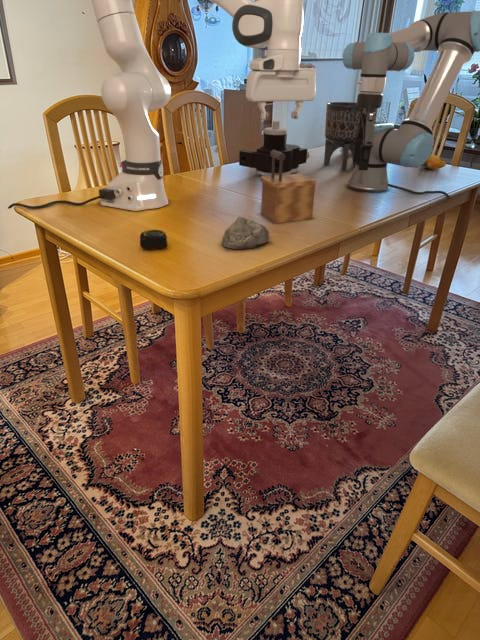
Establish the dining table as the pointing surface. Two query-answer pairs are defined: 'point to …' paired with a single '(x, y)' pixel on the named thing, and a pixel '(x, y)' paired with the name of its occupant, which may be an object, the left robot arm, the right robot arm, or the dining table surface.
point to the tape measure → (153, 239)
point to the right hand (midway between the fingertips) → (359, 165)
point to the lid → (281, 179)
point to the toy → (434, 162)
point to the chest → (287, 203)
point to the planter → (341, 130)
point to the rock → (245, 234)
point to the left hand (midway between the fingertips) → (279, 119)
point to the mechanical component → (276, 141)
